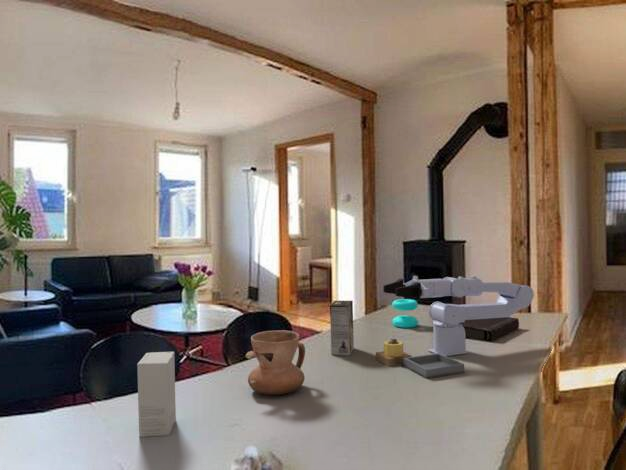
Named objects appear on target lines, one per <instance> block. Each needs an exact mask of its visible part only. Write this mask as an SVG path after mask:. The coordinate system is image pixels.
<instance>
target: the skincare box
mask: <svg viewBox="0 0 626 470" xmlns="http://www.w3.org/2000/svg"><path fill="white" fill-rule="evenodd" d="M175 362H176V361H175V351H158V352H157V351H155V352H154V351H152V352H146V353H145V354H144V355H143V357H142V358H141V359H140V360H139V361H138V363H137V364H136V367H137V368H136V369H137V400H138V401H137V403H138V406H137V407H138V437H139V438H146V437H147V438H148V437H164V436H170V434H171V432H172V430H173V427H174V425H175V422H176V420H177V415H176V413H177V412H176V406H177V405H176V376H175V375H176V371H175V369H176V368H175V367H176V365H175Z"/></svg>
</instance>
